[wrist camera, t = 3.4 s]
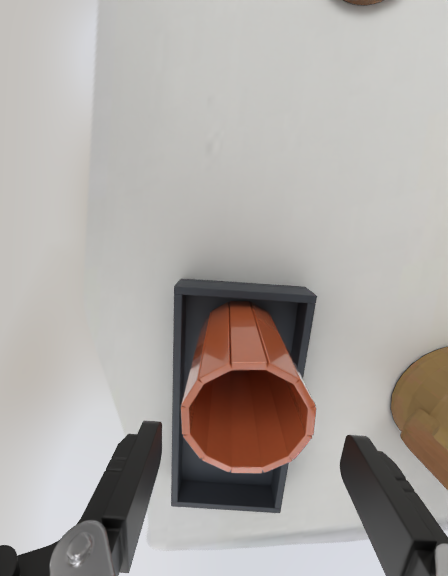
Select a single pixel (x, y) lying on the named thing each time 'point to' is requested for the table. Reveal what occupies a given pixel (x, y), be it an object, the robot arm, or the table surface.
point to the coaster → (363, 2)
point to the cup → (245, 393)
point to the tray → (187, 324)
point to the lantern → (425, 411)
